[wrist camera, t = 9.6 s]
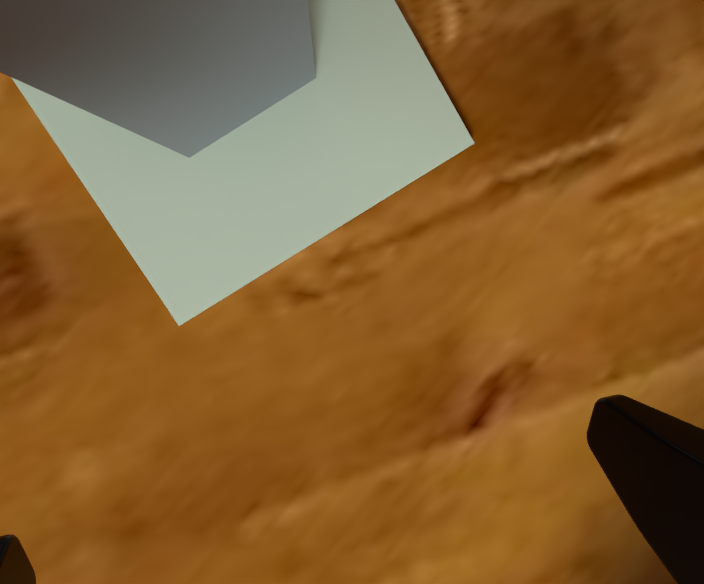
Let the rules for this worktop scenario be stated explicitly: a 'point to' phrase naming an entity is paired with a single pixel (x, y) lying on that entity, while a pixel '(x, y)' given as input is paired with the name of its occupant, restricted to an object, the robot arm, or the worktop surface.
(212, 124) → the plug block
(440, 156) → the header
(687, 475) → the robot arm
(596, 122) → the worktop surface
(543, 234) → the worktop surface
